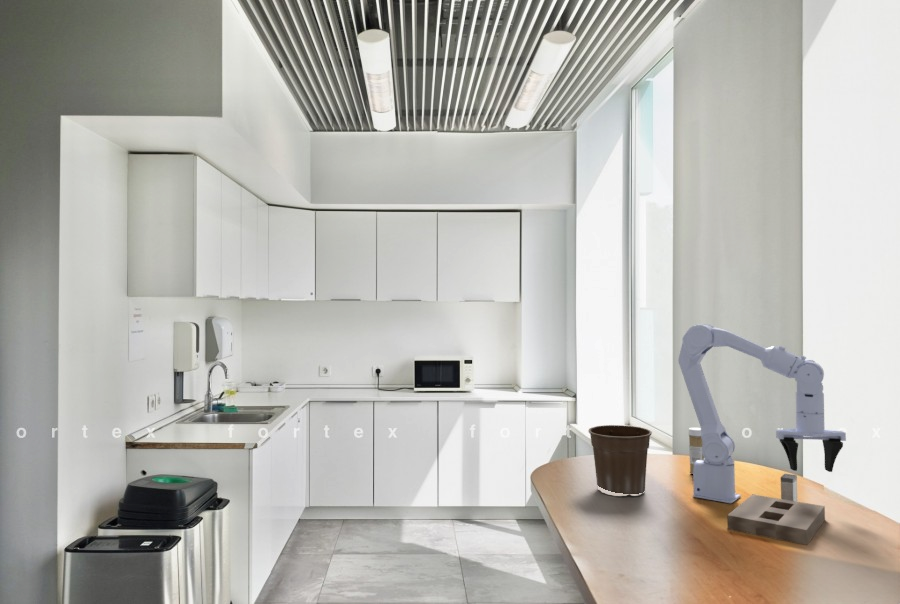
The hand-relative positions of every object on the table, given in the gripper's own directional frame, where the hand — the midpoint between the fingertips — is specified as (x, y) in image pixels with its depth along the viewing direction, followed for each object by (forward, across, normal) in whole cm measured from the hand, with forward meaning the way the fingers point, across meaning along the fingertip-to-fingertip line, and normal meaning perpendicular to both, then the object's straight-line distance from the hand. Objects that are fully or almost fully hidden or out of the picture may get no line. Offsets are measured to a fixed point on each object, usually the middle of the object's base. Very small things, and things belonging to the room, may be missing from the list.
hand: (811, 470), depth 143 cm
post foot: (+10, -12, -11) cm, 18 cm away
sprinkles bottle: (+10, -18, +32) cm, 38 cm away
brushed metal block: (+10, -3, +4) cm, 11 cm away
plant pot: (+10, -42, +12) cm, 45 cm away
